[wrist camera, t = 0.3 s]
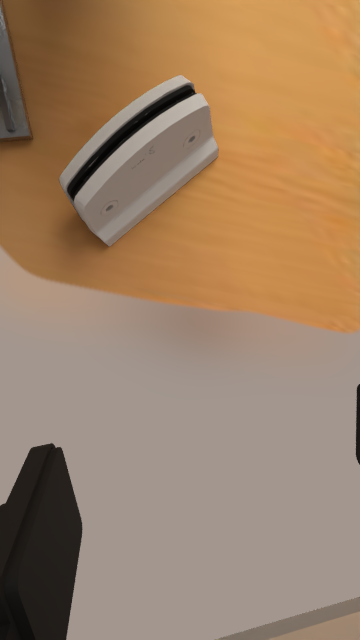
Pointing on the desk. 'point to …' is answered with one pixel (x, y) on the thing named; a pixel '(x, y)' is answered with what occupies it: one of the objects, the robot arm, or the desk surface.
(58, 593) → the robot arm
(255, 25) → the desk surface
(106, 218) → the white black arched block
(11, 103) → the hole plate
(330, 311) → the desk surface
